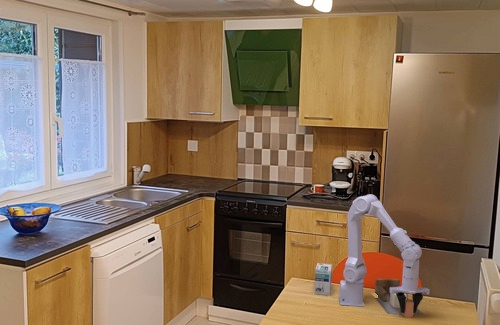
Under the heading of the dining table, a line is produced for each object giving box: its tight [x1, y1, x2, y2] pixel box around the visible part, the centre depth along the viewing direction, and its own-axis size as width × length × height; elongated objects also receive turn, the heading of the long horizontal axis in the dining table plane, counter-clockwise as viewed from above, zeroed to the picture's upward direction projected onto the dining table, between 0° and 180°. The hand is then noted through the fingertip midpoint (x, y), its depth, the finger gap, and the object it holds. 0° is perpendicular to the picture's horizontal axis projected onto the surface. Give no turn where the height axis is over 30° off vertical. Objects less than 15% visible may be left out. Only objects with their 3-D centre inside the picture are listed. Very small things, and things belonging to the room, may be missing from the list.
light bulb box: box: [314, 262, 333, 296], centre depth 229 cm, size 11×7×11 cm, turn 168°
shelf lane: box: [374, 278, 424, 315], centre depth 217 cm, size 14×25×6 cm, turn 3°
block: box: [390, 293, 414, 318], centre depth 209 cm, size 5×15×6 cm, turn 3°
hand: (408, 312), depth 203 cm, fingers open, 4 cm apart
